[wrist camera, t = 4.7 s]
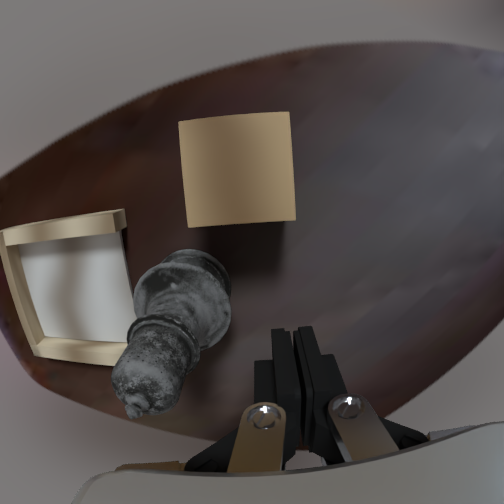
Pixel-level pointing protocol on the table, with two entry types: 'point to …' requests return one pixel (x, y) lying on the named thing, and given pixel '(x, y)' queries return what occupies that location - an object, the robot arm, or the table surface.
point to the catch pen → (71, 286)
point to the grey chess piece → (171, 329)
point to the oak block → (237, 169)
